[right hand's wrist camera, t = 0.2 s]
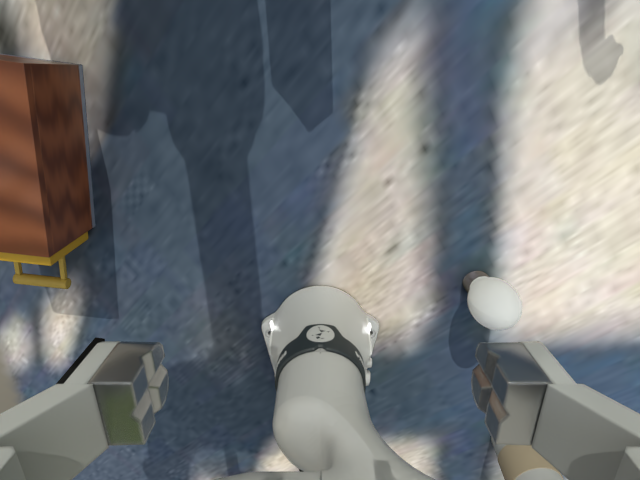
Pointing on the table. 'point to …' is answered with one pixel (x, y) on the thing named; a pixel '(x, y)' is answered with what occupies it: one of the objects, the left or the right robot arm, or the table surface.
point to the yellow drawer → (40, 279)
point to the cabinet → (43, 156)
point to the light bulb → (492, 301)
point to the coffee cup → (524, 463)
